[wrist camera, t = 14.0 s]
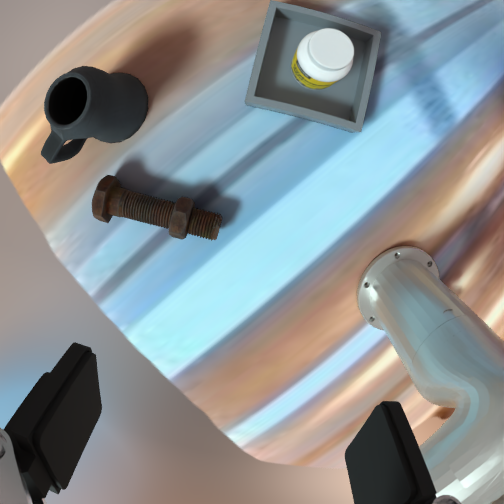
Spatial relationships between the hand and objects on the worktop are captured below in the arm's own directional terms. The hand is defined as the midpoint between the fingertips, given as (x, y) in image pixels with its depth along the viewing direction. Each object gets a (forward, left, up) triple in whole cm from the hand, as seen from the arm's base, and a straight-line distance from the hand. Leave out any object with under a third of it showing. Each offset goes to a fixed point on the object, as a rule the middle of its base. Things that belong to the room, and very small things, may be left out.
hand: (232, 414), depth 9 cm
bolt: (+11, +2, -31) cm, 33 cm away
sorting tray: (-3, -18, -30) cm, 35 cm away
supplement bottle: (-3, -18, -30) cm, 35 cm away
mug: (+20, -8, -31) cm, 37 cm away
